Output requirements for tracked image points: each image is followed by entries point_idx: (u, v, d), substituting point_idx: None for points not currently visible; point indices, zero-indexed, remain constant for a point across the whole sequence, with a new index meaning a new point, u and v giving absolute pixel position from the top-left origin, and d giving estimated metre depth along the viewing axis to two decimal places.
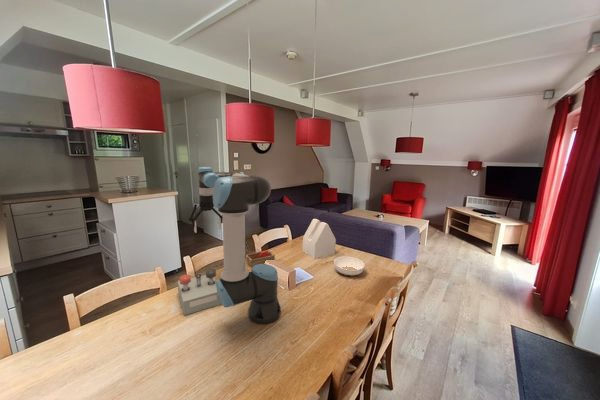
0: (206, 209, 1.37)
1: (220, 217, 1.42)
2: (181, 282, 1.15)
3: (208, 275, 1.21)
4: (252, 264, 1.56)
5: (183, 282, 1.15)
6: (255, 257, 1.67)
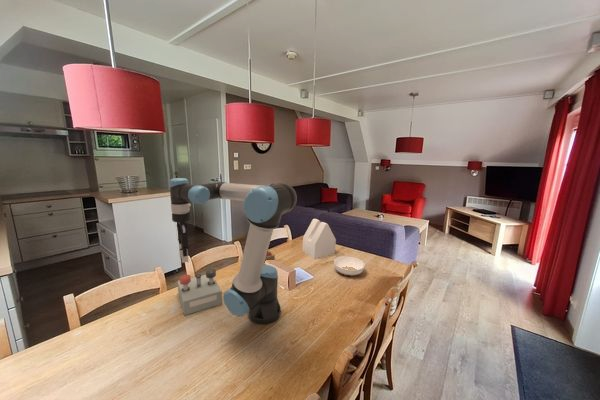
0: None
1: (181, 247, 1.10)
2: (181, 282, 1.15)
3: (208, 275, 1.21)
4: None
5: (183, 282, 1.15)
6: None
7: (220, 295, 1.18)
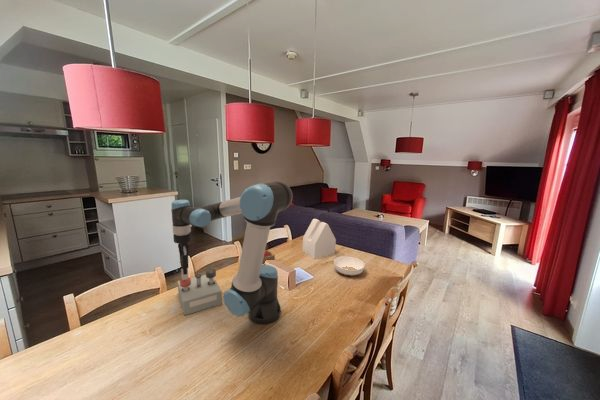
0: None
1: (181, 265, 1.14)
2: (181, 285, 1.15)
3: (208, 275, 1.21)
4: None
5: (183, 285, 1.15)
6: None
7: (220, 295, 1.18)
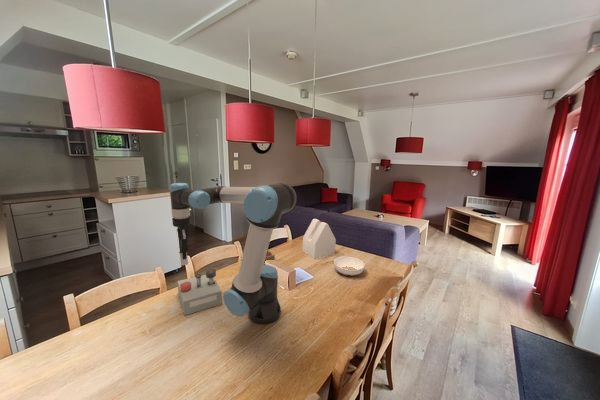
0: None
1: (181, 250, 1.13)
2: (182, 289, 1.16)
3: (208, 275, 1.21)
4: None
5: (183, 289, 1.15)
6: None
7: (220, 295, 1.18)
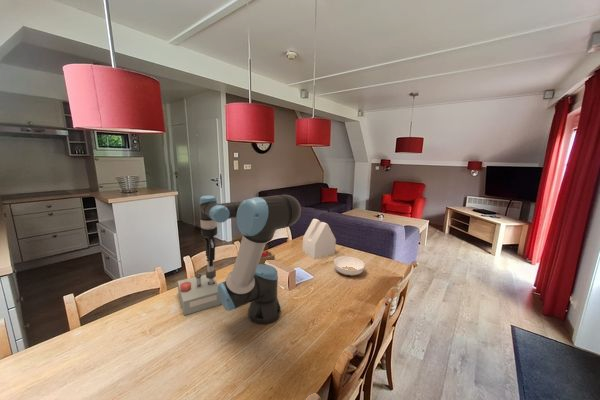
0: None
1: (208, 258, 1.20)
2: (182, 289, 1.16)
3: (208, 275, 1.21)
4: None
5: (183, 289, 1.15)
6: None
7: None
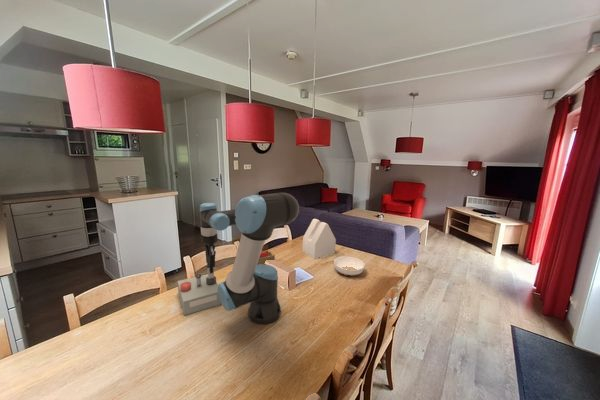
0: None
1: (208, 265, 1.21)
2: (182, 289, 1.16)
3: (208, 282, 1.22)
4: None
5: (183, 289, 1.15)
6: None
7: None
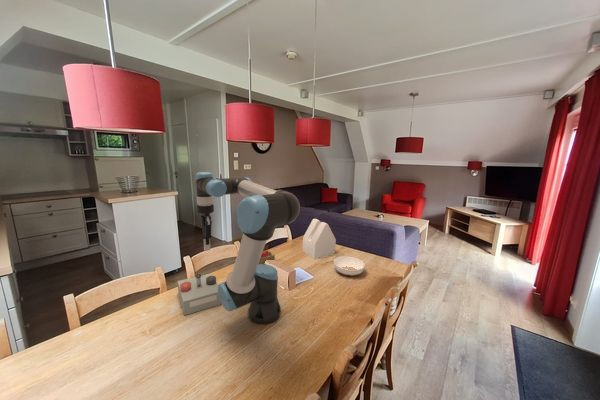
0: None
1: (204, 236, 1.19)
2: (182, 289, 1.16)
3: (208, 282, 1.22)
4: None
5: (183, 289, 1.15)
6: None
7: None
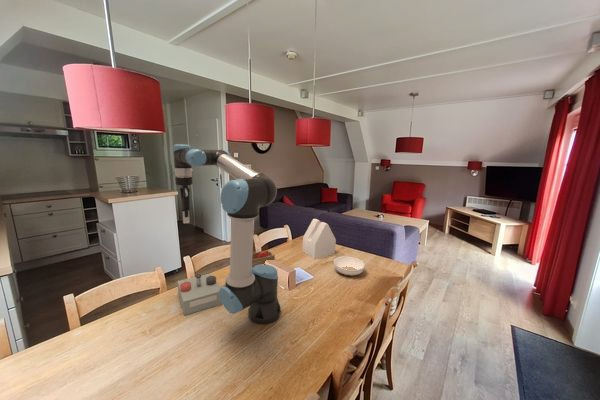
0: None
1: (183, 208, 1.20)
2: (182, 289, 1.16)
3: (208, 282, 1.22)
4: (252, 264, 1.56)
5: (183, 289, 1.15)
6: (255, 257, 1.67)
7: None
